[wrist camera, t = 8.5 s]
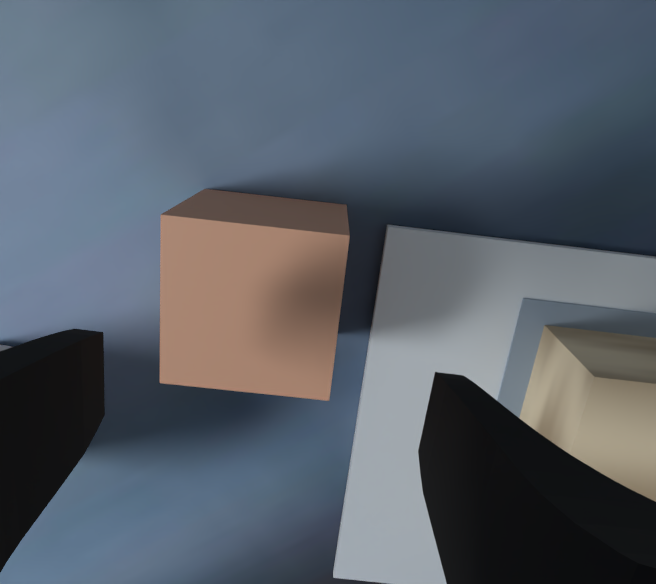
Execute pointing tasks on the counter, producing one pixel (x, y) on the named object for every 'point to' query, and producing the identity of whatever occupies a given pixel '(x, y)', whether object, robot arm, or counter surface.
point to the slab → (598, 401)
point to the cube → (252, 293)
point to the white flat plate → (461, 365)
